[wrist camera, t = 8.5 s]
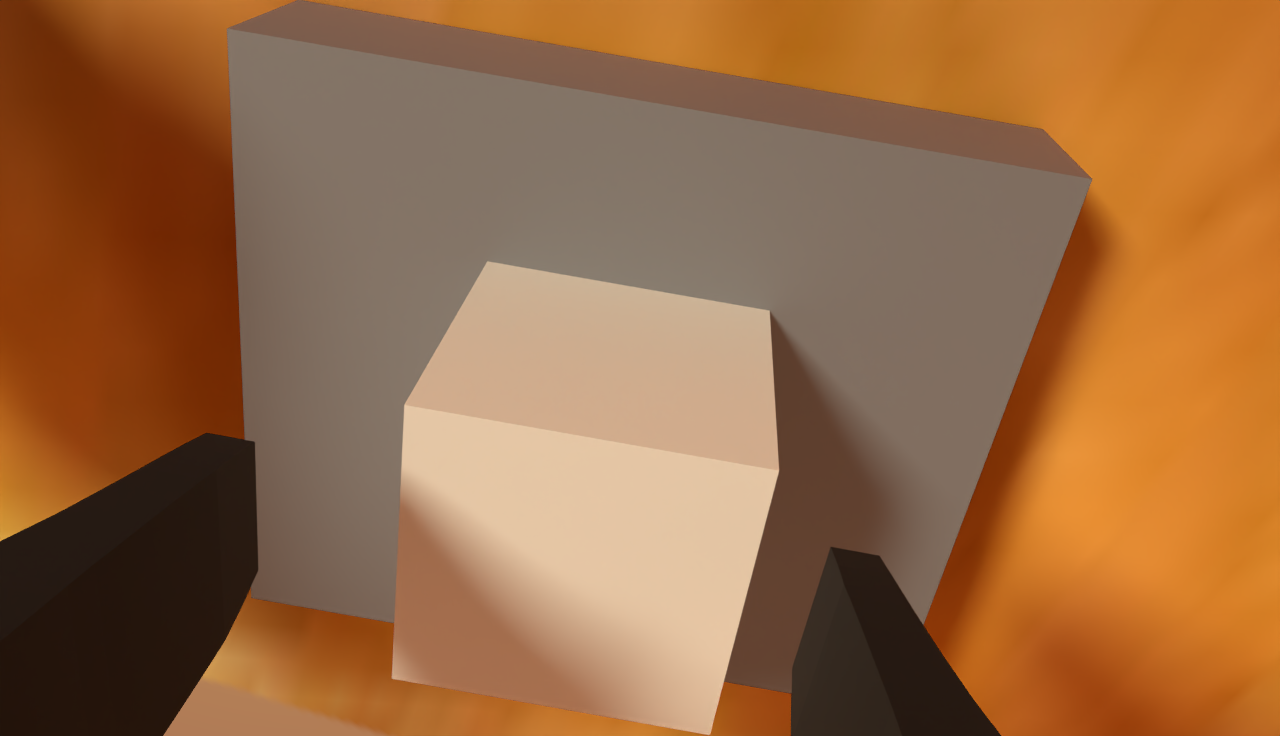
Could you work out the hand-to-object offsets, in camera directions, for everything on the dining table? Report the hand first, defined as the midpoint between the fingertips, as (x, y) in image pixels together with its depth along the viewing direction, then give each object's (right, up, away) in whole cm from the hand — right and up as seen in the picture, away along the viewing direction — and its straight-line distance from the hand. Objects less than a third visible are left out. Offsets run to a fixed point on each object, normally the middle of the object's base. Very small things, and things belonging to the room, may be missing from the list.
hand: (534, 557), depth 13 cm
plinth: (+1, +3, +9) cm, 9 cm away
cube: (+1, +2, +6) cm, 6 cm away
